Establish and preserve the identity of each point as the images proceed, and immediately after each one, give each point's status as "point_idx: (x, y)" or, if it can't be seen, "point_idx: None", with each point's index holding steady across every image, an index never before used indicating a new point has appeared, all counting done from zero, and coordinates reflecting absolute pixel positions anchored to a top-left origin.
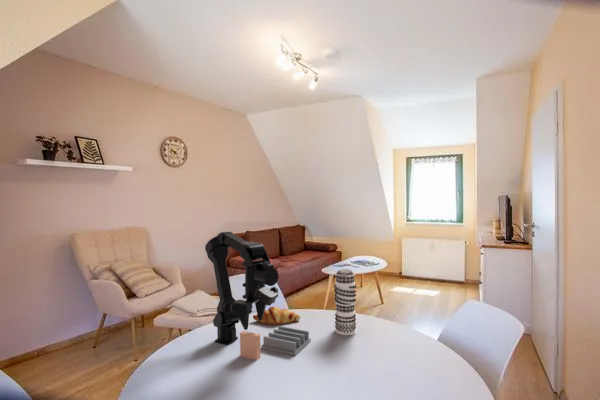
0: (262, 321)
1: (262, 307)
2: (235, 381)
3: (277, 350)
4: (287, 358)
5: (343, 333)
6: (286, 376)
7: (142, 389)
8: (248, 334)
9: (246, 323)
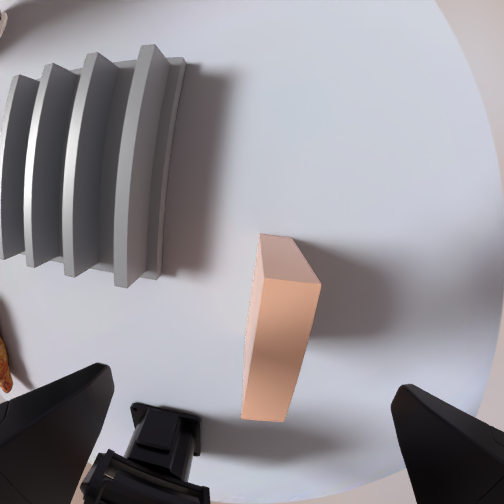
0: (2, 352)
1: (14, 463)
2: (461, 246)
3: (166, 168)
4: (224, 87)
5: (1, 27)
6: (383, 53)
7: None
8: (296, 367)
9: (469, 417)
